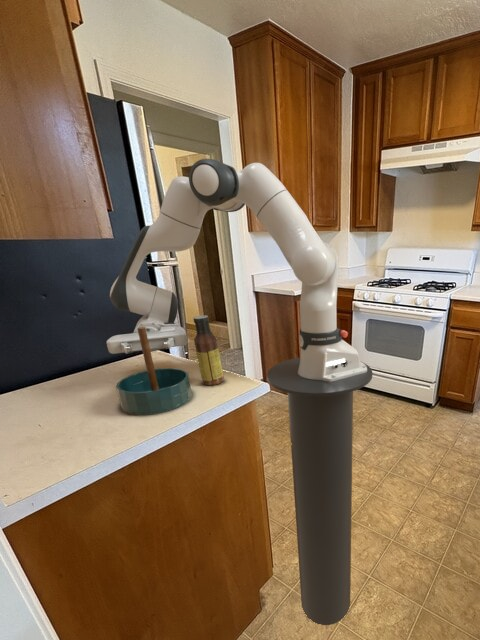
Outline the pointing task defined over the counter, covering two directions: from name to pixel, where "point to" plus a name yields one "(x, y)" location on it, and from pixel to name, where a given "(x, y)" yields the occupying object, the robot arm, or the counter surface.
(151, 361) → the wooden dowel stand
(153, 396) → the bowl
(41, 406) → the counter surface
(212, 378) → the sauce bottle
